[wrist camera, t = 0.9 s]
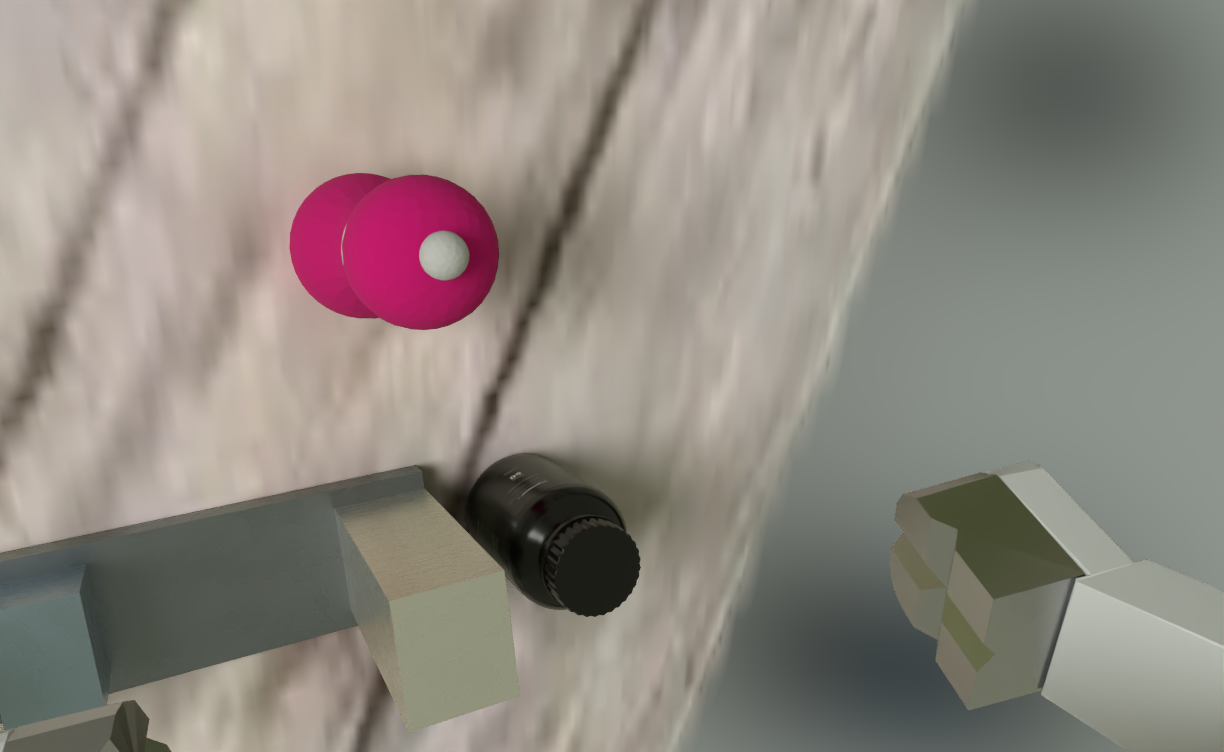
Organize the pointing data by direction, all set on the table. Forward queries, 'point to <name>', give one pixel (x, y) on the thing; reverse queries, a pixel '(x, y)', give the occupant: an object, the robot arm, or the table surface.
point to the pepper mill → (395, 249)
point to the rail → (261, 599)
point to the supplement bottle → (553, 535)
